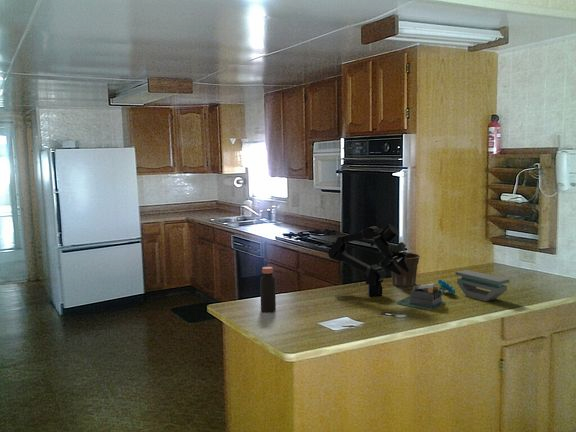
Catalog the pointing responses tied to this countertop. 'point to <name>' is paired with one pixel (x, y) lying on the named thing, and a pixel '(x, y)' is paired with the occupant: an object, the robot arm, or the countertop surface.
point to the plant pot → (407, 277)
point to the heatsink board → (423, 298)
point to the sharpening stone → (481, 285)
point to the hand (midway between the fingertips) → (404, 273)
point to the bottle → (267, 290)
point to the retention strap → (425, 286)
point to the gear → (445, 287)
